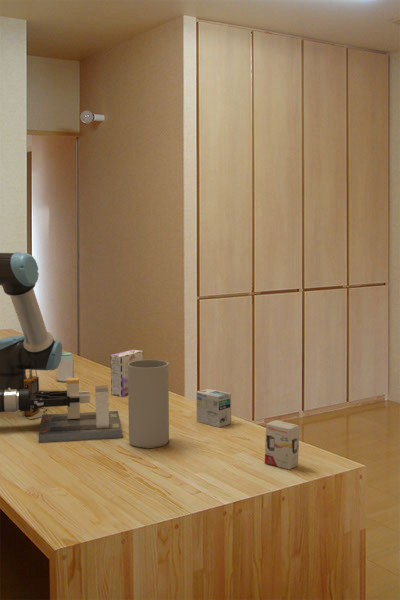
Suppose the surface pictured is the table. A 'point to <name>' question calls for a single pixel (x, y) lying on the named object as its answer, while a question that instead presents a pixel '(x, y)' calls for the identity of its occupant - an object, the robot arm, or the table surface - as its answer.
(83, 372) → the table surface
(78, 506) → the table surface
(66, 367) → the can
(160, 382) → the cylinder vase
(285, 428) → the ink box
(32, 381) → the multimeter
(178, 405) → the table surface
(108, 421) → the dual slider panel
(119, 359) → the candy box
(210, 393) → the light bulb box
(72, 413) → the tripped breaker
